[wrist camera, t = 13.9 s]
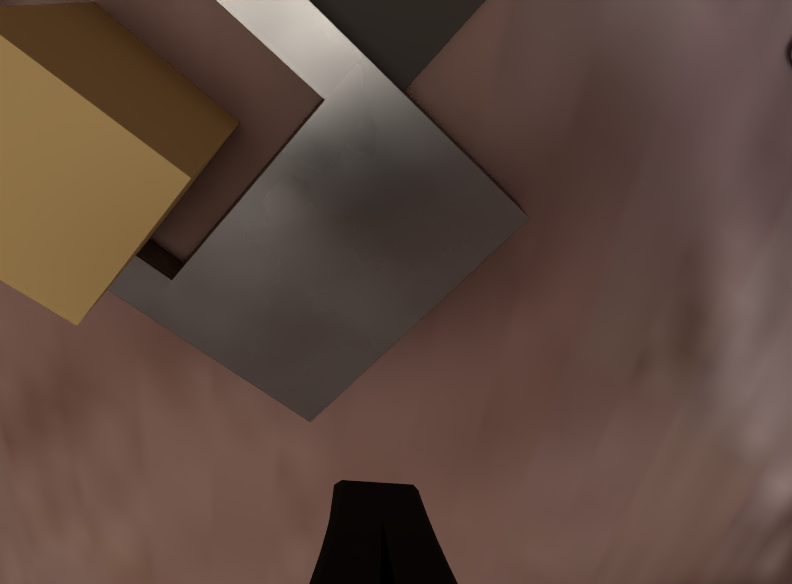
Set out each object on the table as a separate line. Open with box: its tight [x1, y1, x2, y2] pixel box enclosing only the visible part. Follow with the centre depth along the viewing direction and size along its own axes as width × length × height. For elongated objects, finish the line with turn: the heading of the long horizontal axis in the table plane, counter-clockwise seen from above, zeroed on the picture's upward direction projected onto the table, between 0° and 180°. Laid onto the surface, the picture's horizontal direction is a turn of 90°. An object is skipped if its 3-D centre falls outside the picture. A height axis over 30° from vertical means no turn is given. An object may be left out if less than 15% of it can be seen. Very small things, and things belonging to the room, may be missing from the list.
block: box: [0, 2, 240, 325], centre depth 14 cm, size 4×4×6 cm
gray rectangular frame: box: [107, 0, 529, 422], centre depth 15 cm, size 15×10×3 cm, turn 47°
